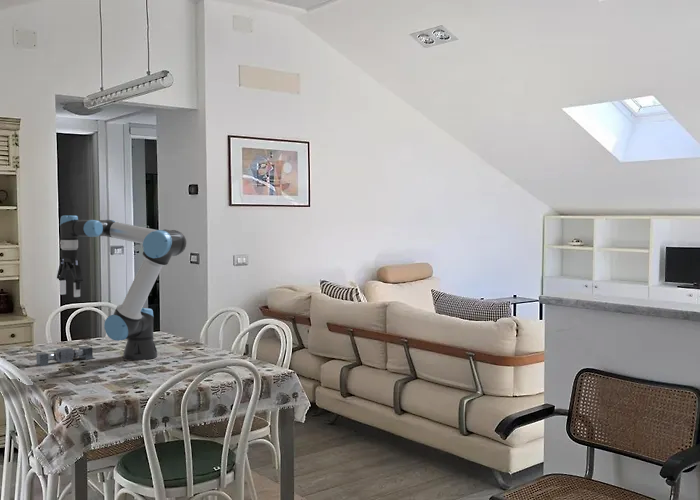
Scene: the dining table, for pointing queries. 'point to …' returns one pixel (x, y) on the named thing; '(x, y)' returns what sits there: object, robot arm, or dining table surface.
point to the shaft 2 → (83, 353)
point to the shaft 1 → (45, 358)
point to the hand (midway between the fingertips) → (69, 295)
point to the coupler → (65, 355)
